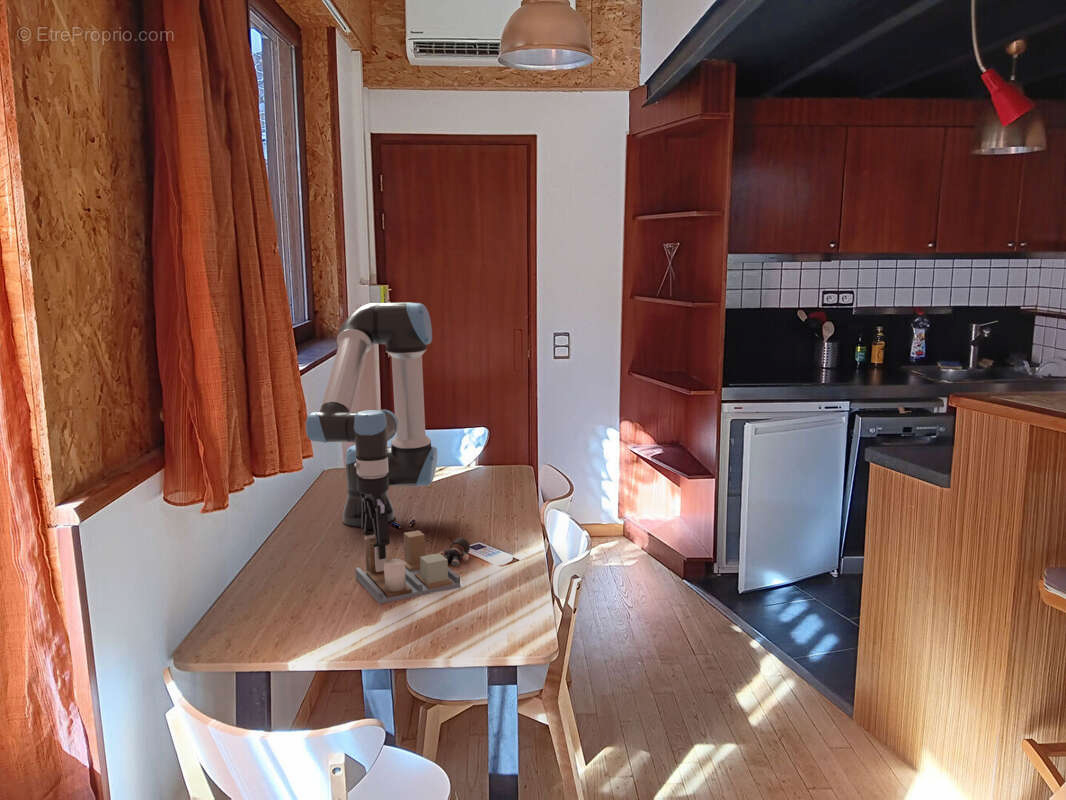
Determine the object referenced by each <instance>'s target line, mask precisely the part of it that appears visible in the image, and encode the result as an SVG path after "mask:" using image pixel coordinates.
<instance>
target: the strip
mask: <svg viewBox="0 0 1066 800" xmlns="http://www.w3.org/2000/svg"><path fill="white" fill-rule="evenodd" d="M374 544H376V541H375V538H369V539H365V538H364V547H365V548H364V552H366V554H365V570H366V571H365V572H366V575H367V576H368V577H369V578H370V579H371V580H372V582H373V583H374V584H375V585H376V586H377V587H378V588H379V589H380V590H381V591H382V592H383V594H384V595H385V596H386V597H387V598H389V597H394V596H399V595H403V594H408V593H412V589H411V588H410V587H409V586H408V585H407V584H406V588H405V589H403V590H401V591H394V592H393V591H387V590H386V589H385V578H384V571H380V572H376V567H375V547H373V545H374Z"/></svg>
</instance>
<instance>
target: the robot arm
mask: <svg viewBox="0 0 1066 800" xmlns="http://www.w3.org/2000/svg"><path fill="white" fill-rule="evenodd" d="M432 341H433V328H432V320H431V317H430V313H429V310H428V309H427V307H426V305H424V303H423V304H422V303H420V302H405V301H404V302H372V303H371V302H370V303H367V304H364V305H362V306H360V307H359V308H357V309H356V310H354V311H353V312H352V313H350V315H349V316H348V317H347V318H346V319H345V320H344V321H343V322H342V324H341V326H340V328H339V329H338V333H337V336H336V343H337V346H338V348H337V351H336V353H335V357H334V361H333V364H332V368H331V370H330V374H329V378H328V381H327V385H326V388H325V391H324V392H325V393H324V395H323V398H322V401H321V402H322V403H321V406H320V410H319V411H312V412H310V413H309V414H308V415H307V417H306V421H305V433H306V436H307V437H308V440H310V441H311V442H315V443H316V442H318V443H355V444H353V445H350V446H349V447H348V448H347V449H346V453H345V470H346V486H347V490H346V491H347V496H346V499H345V500H346V501H345V504H344V508H343V511H342V522H343V523H344V524H345V525H347V526H352V527H358V528H359V527H360V528H361V531H363V535H364V540H365V539H369V538H375V541H376V544H374V545H373V547H375V567H376V572H380V571H384V562H385V561H387V560H388V552H387V551H388V550H387V546H388V545H390V544H391V541H390V531H389V523H391V522H392V521H393V520H394V519H395V510H394V507H393V504H392V501H391V499H390V497H389V494H388V491H389V489H390V487H423V486H424V487H426V486H427V487H428V486H430V485H431V484H432V483H433V481H434V478H435V475H436V471H437V470H436V469H437V463H438V448H437V447H436V446H435V445H432V439H431V438H430V437H429V436H427V435H426V420H425V419H426V418H425V417H426V416H425V397H424V396H425V395H424V373H423V355H424V353H426V352H427V349H428V347H427V346H428V345H430V344H431V343H432ZM373 345H385V352H386V353H387V354H388V355H389V356H390V357H391V369H392V386H393V387H392V388H393V389H392V390H393V391H392V392H393V403H394V404H393V405H394V412H393V411H391V410H388V409H380V410H379V409H368V410H361V411H357V412H355V411H354V412H351V410H352V407H353V402H354V400H355V399H354V398H355V395H356V392H357V388H358V384H359V380H360V377H361V373H362V369H363V366H364V365H363V364H364V361H365V357H366V354H367V353H369V351H371V349H372V346H373ZM307 428H308V429H307ZM394 436H395V437H394ZM392 438H393V439H392ZM391 439H392V440H391ZM390 440H391V441H390ZM388 441H390V442H391V443H390V445H391V446H388ZM364 552H365V551H364ZM365 555H366V552H365Z"/></svg>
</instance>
